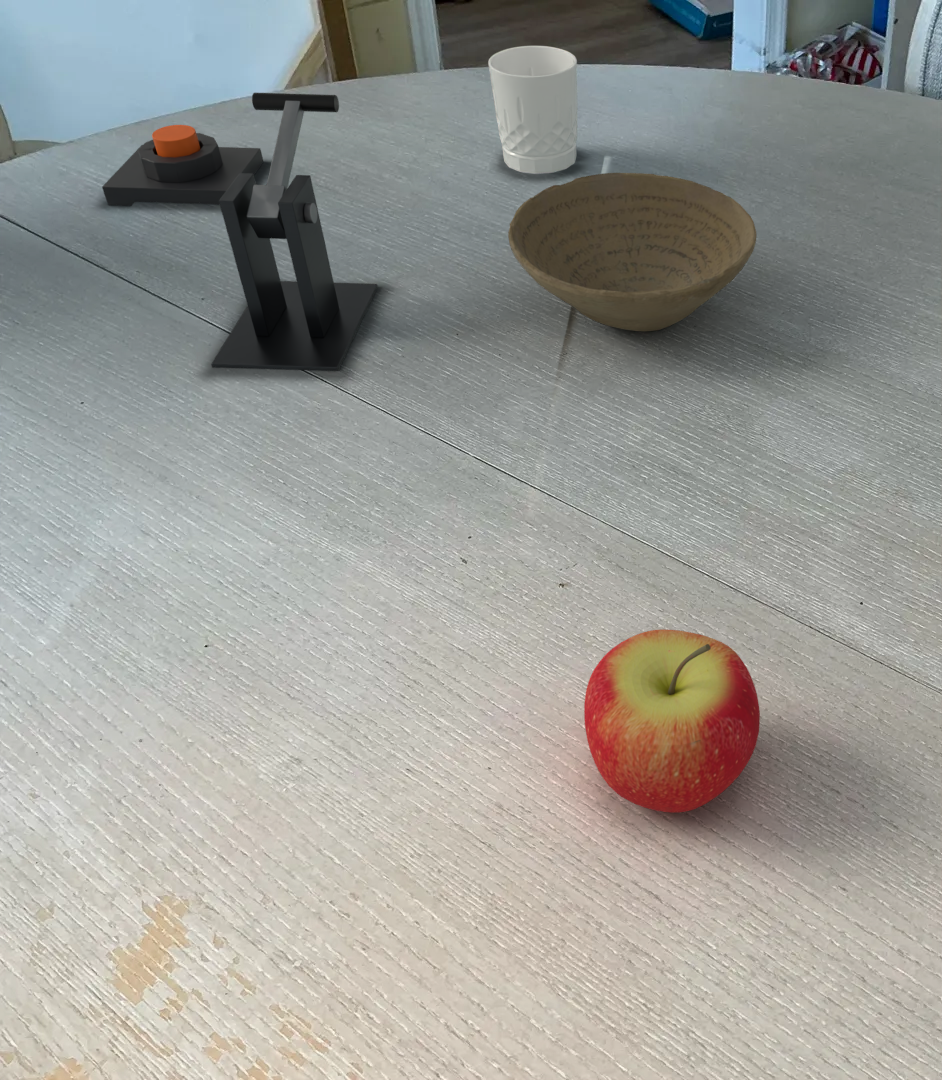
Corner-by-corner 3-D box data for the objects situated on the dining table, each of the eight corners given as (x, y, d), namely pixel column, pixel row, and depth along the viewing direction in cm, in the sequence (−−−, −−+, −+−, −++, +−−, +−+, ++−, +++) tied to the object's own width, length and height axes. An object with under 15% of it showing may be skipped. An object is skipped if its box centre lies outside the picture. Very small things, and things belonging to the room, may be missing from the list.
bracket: (266, 293, 93) (229, 149, 86) (379, 297, 93) (352, 153, 86) (215, 377, 84) (167, 225, 77) (340, 381, 84) (305, 229, 77)
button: (151, 159, 103) (145, 140, 102) (166, 143, 106) (160, 123, 105) (192, 160, 103) (186, 141, 102) (206, 144, 106) (201, 125, 105)
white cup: (486, 179, 110) (474, 70, 103) (517, 146, 116) (507, 41, 109) (566, 189, 109) (559, 80, 102) (593, 155, 114) (588, 50, 108)
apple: (731, 865, 55) (738, 728, 49) (562, 822, 57) (546, 683, 50) (773, 733, 61) (784, 595, 55) (619, 697, 63) (611, 559, 56)
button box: (109, 210, 104) (94, 166, 101) (148, 167, 110) (135, 125, 108) (234, 214, 104) (222, 170, 101) (266, 170, 110) (255, 128, 108)
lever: (262, 107, 88) (250, 82, 85) (342, 109, 88) (333, 85, 85) (231, 237, 83) (218, 215, 81) (316, 240, 83) (305, 218, 81)
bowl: (785, 364, 87) (791, 267, 82) (538, 399, 83) (529, 299, 78) (715, 249, 101) (718, 159, 95) (500, 274, 96) (490, 182, 91)
